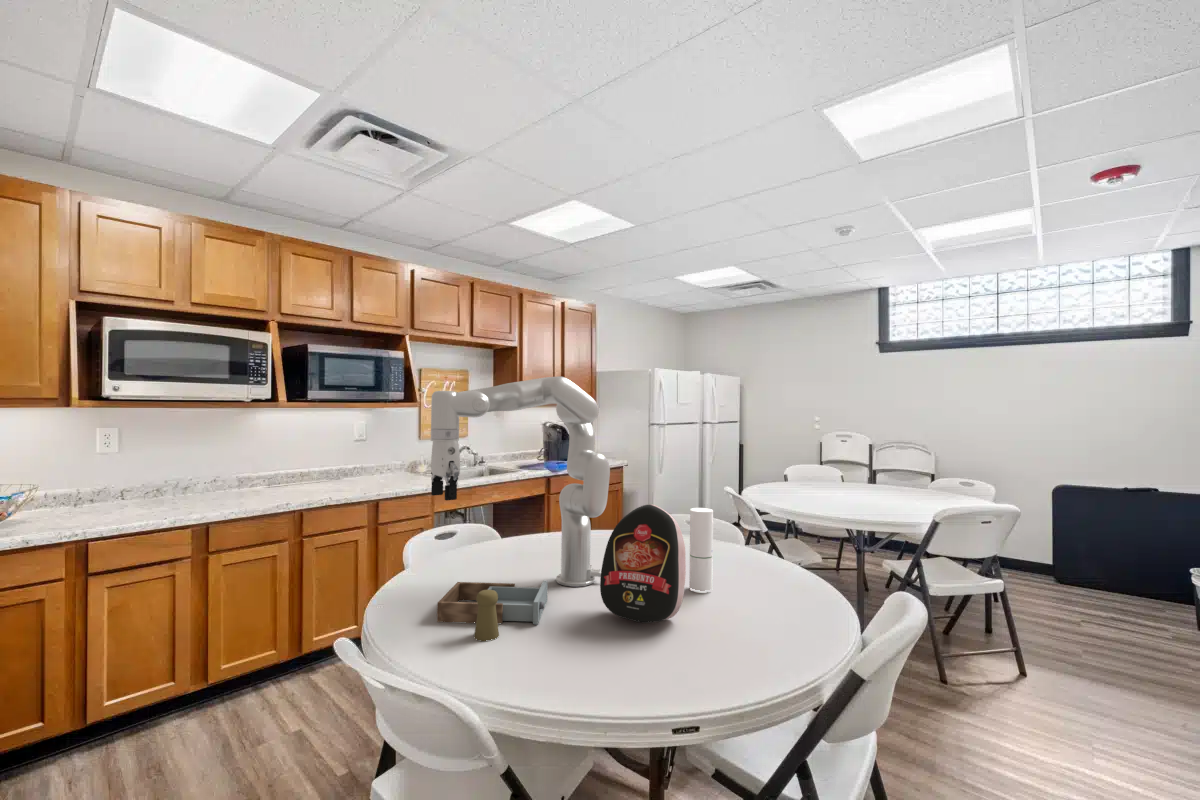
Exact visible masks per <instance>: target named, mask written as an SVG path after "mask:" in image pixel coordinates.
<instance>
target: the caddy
mask: <svg viewBox="0 0 1200 800" xmlns="http://www.w3.org/2000/svg"><path fill="white" fill-rule="evenodd" d="M490 586H497V587H516V583H509V582H505V583H504V582H503V583H501V582H476V581H475V582H472V581H470V582H469V581H457V582H456V583H455V584H454V585H453V586H452V587H451V588H450V589H449V590H448V591H447V592H446V593H445V594H444V595H443V596H442V597H441V599H439V601H437V609H436V612H437V614H436V616H437V617H436V622H437V623H452V622H466V623H465V624H476V620H477V613H478V607H479V605H478V604H477V594H478V593H479V592H480V591H482V590H488V588H489V587H490ZM462 600H476V601H462ZM458 601H459V602H458ZM496 613H497V622H498V623H502V624H503V621H502V618H503V603H496ZM474 622H475V623H474Z"/></svg>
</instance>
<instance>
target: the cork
mask: <svg viewBox="0 0 1200 800" xmlns="http://www.w3.org/2000/svg"><path fill="white" fill-rule="evenodd" d="M497 601H498V594H497V592H496V591H494V590H482V591H480V592H479V593H478V594H477V601H476V603H477V604H478V605H479V607H478V613H477V620H476V623H475V629H474V635H473V638H474V637H475V638H474V640H476V639H477V640H476V641H478V640H481V641H480V642H487V641H486V640H491V639H494V640H496V639H498V638H499V637H498V636H500V633H499V624H498V622H497V613H496V603H497ZM497 637H498V638H497ZM495 638H496V639H495ZM491 641H492V640H491Z"/></svg>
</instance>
